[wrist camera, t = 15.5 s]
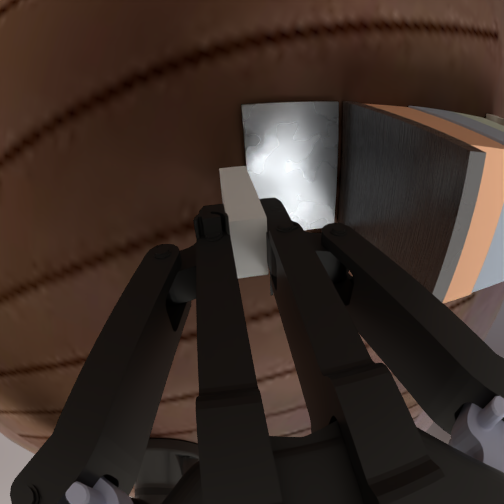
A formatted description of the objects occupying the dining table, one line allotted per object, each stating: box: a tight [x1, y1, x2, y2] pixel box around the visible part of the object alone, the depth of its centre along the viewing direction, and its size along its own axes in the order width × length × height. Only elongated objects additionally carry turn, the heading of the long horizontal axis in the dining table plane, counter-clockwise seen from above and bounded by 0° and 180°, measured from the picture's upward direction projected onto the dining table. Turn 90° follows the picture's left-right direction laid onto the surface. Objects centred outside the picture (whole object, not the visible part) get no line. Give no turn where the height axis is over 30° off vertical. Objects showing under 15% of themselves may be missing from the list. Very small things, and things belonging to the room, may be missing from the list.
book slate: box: [408, 106, 504, 293], centre depth 16 cm, size 4×9×10 cm, turn 4°
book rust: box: [366, 104, 504, 303], centre depth 16 cm, size 4×9×10 cm, turn 3°
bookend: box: [241, 101, 486, 303], centre depth 15 cm, size 8×9×11 cm
